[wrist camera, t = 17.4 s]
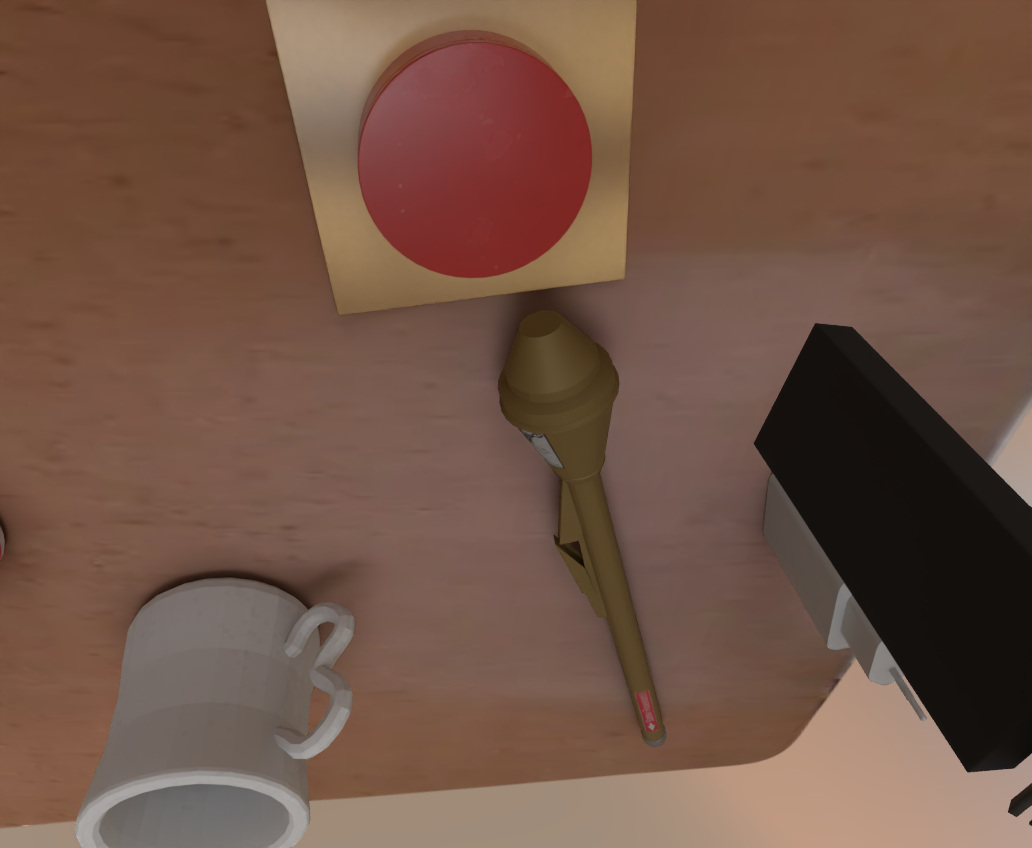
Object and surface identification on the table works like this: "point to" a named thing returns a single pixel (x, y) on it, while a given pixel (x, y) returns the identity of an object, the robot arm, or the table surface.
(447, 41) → the lid
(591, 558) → the toy grenade launcher
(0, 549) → the pill bottle
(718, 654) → the table surface
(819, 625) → the power adapter
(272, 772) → the mug
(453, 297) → the coaster
